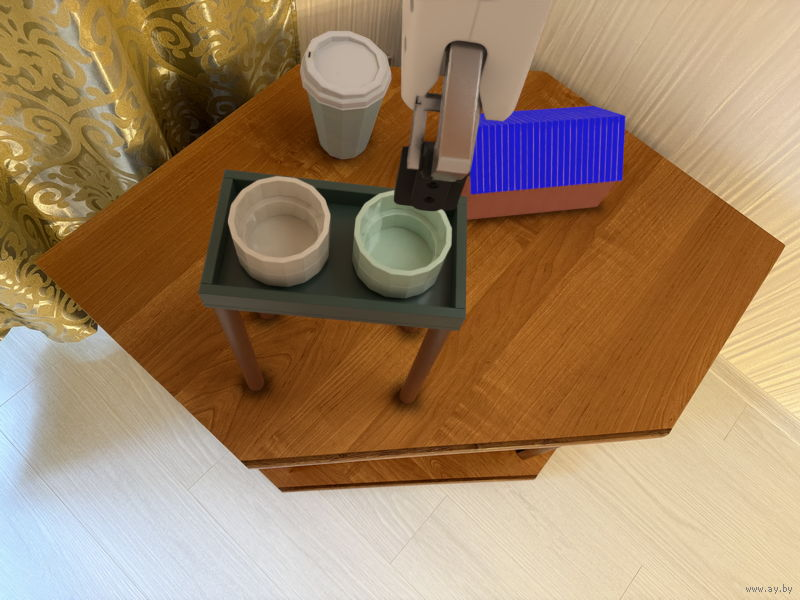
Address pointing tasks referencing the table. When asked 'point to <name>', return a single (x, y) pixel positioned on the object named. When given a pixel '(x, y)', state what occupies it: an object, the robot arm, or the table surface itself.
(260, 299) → the tray
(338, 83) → the disposable coffee cup
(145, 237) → the table surface
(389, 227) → the dish
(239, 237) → the dish
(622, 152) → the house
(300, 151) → the table surface
